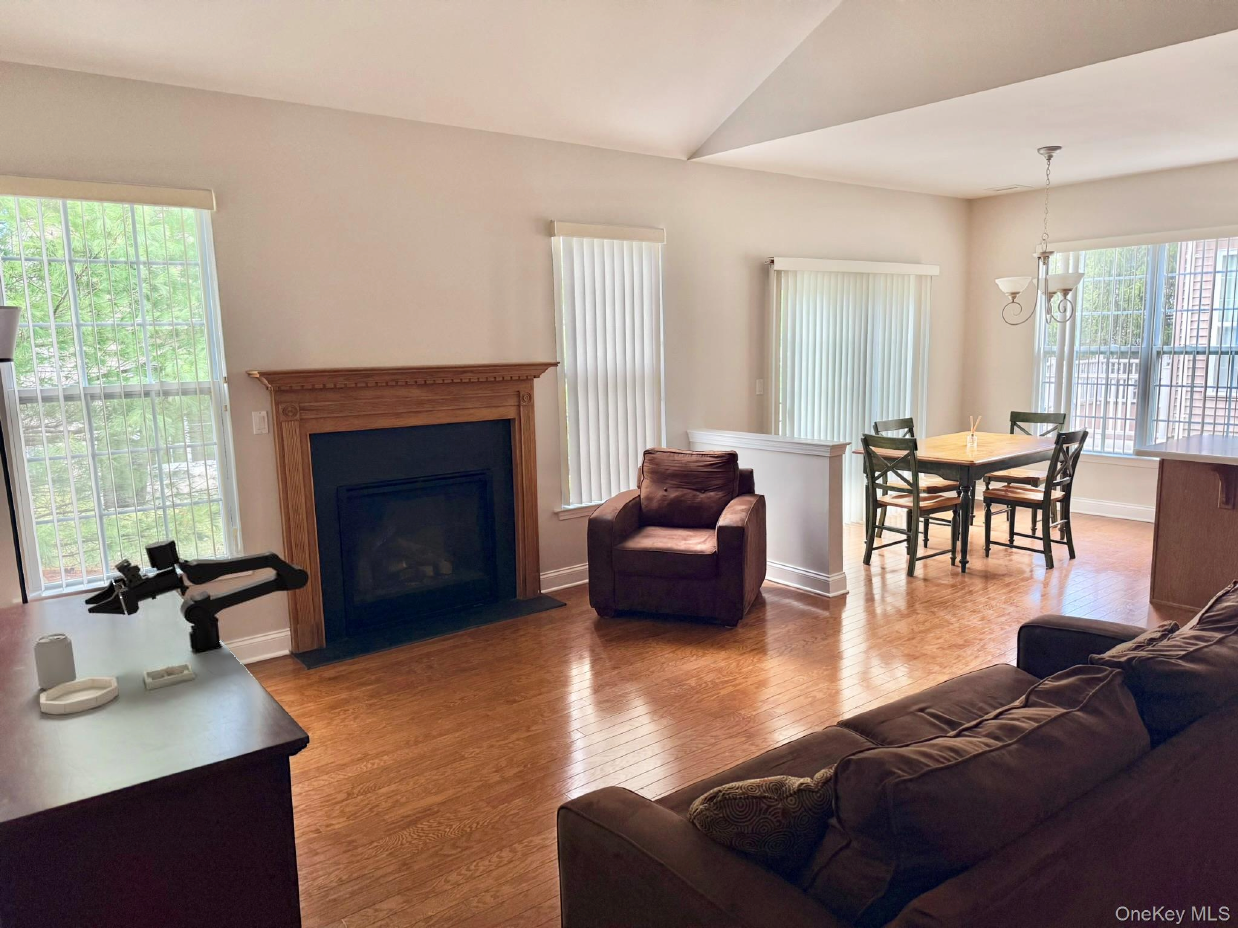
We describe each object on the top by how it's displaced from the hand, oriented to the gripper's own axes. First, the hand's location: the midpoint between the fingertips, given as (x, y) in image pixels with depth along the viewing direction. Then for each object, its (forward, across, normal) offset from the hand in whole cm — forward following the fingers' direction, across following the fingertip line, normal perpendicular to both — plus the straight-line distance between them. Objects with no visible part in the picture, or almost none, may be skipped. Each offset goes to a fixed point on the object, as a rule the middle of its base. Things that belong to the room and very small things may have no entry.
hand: (86, 606), depth 205 cm
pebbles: (-11, +19, +19) cm, 29 cm away
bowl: (+7, +19, +16) cm, 26 cm away
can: (+10, +4, +16) cm, 19 cm away
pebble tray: (-11, +19, +19) cm, 29 cm away
